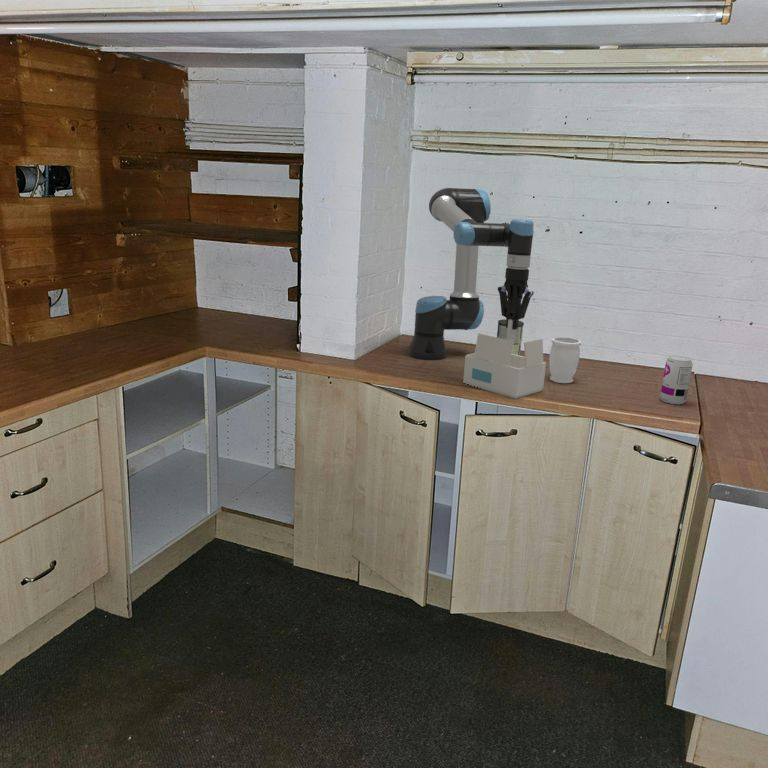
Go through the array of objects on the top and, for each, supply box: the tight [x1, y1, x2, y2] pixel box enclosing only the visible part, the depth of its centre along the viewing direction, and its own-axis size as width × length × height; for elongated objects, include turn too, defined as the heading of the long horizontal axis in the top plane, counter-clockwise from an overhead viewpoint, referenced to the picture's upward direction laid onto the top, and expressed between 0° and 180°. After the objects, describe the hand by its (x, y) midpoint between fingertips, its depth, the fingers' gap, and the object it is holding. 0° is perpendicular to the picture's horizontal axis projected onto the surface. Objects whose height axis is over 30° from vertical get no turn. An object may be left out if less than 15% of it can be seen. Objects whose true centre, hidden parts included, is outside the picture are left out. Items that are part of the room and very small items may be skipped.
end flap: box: [523, 338, 544, 367], centre depth 229 cm, size 8×10×1 cm
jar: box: [548, 336, 582, 384], centre depth 250 cm, size 11×10×15 cm
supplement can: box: [659, 355, 694, 406], centre depth 231 cm, size 8×8×15 cm
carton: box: [462, 352, 547, 400], centre depth 239 cm, size 23×17×10 cm
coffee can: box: [496, 318, 525, 356], centre depth 283 cm, size 10×10×14 cm
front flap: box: [473, 332, 514, 366], centre depth 230 cm, size 14×8×1 cm
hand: (510, 338), depth 234 cm, fingers closed
